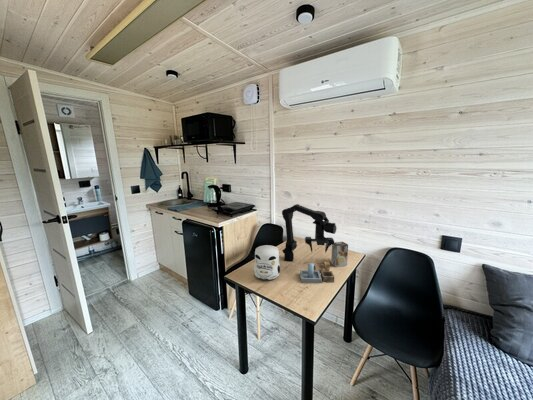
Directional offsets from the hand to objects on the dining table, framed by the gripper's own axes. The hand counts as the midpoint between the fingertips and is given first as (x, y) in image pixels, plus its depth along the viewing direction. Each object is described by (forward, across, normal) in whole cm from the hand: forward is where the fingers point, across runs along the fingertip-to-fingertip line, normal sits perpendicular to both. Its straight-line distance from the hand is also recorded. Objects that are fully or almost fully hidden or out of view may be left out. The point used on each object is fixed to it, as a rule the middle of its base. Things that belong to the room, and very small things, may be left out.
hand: (318, 252), depth 148 cm
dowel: (+12, -6, -12) cm, 18 cm away
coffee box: (+13, +16, +8) cm, 22 cm away
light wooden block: (+12, +6, -1) cm, 14 cm away
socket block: (+12, +4, -12) cm, 18 cm away
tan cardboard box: (+13, +1, -1) cm, 13 cm away
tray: (+12, -6, -12) cm, 18 cm away
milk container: (+13, -34, -11) cm, 38 cm away
